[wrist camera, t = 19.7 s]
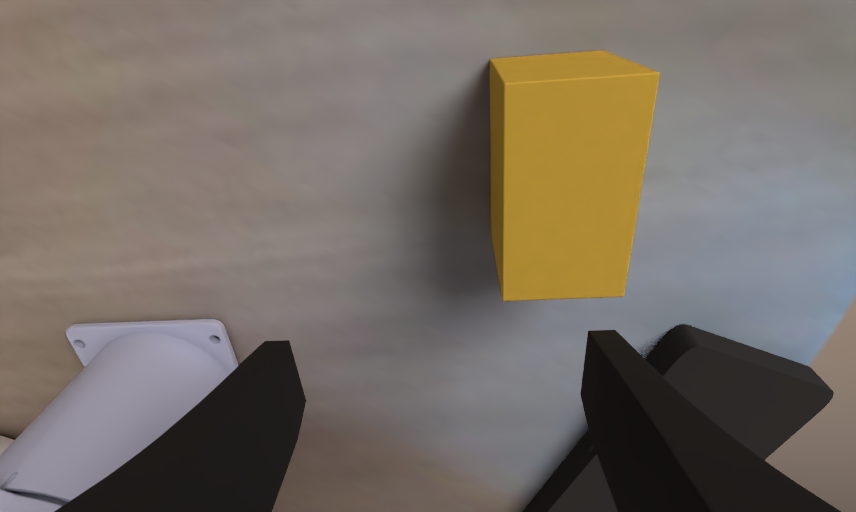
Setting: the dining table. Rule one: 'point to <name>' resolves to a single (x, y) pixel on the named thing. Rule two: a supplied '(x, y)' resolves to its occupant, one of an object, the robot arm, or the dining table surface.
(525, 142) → the yellow block
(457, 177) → the dining table surface
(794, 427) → the smart home device
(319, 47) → the dining table surface
